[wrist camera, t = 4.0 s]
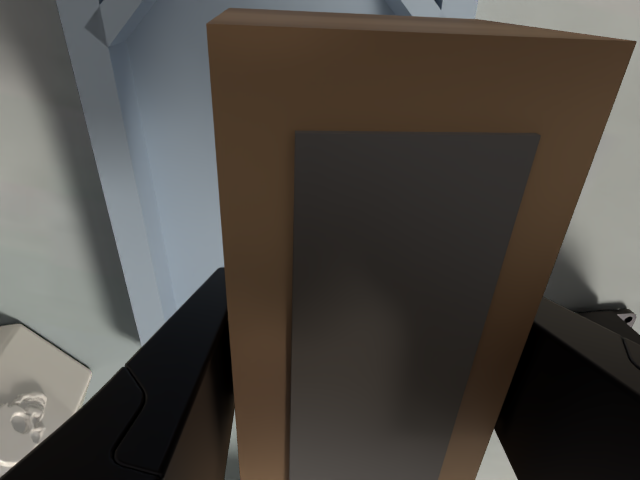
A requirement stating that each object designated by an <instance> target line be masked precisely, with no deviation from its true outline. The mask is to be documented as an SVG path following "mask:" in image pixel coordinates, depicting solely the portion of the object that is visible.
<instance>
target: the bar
mask: <svg viewBox="0 0 640 480" xmlns="http://www.w3.org/2000/svg"><path fill="white" fill-rule="evenodd" d="M206 29H207V43H208V56H209V69H210V83H211V96H212V109H213V123H214V136H215V149H216V163H217V176H218V189H219V203H220V216H221V229H222V243H223V256H224V269H225V283H226V296H227V309H228V323H229V336H230V349H231V363H232V376H233V389H234V403H235V416H236V429H237V443H238V456H239V469H240V480H475V478H476V476H477V473H478V470H479V467H480V465H481V462H482V459H483V457H484V454H485V451H486V448H487V446H488V443H489V440H490V438H491V435H492V432H493V430H494V427H495V424H496V421H497V419H498V416H499V413H500V411H501V408H502V405H503V402H504V400H505V397H506V394H507V392H508V389H509V386H510V383H511V381H512V378H513V375H514V373H515V370H516V367H517V364H518V362H519V359H520V356H521V354H522V351H523V348H524V346H525V343H526V340H527V337H528V335H529V332H530V329H531V327H532V324H533V321H534V318H535V316H536V313H537V310H538V308H539V305H540V302H541V299H542V297H543V294H544V291H545V289H546V286H547V283H548V280H549V278H550V275H551V272H552V270H553V267H554V264H555V262H556V259H557V256H558V253H559V251H560V248H561V245H562V243H563V240H564V237H565V234H566V232H567V229H568V226H569V224H570V221H571V218H572V215H573V213H574V210H575V207H576V205H577V202H578V199H579V196H580V194H581V191H582V188H583V186H584V183H585V180H586V177H587V175H588V172H589V169H590V167H591V164H592V161H593V159H594V156H595V153H596V150H597V148H598V145H599V142H600V140H601V137H602V134H603V131H604V129H605V126H606V123H607V121H608V118H609V115H610V112H611V110H612V107H613V104H614V102H615V99H616V96H617V93H618V91H619V88H620V85H621V83H622V80H623V77H624V75H625V72H626V69H627V66H628V64H629V61H630V58H631V56H632V53H633V50H634V47H635V45H636V42H637V41H630V40H623V39H616V38H609V37H601V36H594V35H587V34H580V33H573V32H565V31H558V30H551V29H544V28H536V27H529V26H522V25H515V24H507V23H500V22H493V21H486V20H479V19H463V18H441V17H419V16H398V15H376V14H355V13H333V12H311V11H290V10H268V9H246V8H228V9H227V10H225V11H224V12H222V13H221V14H219V15H218V16H216V17H215V18H214V19H212V20H211V21H209V22H208V23H206Z"/></svg>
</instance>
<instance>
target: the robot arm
mask: <svg viewBox="0 0 640 480" xmlns="http://www.w3.org/2000/svg"><path fill="white" fill-rule="evenodd" d="M635 320H636V315H635V314H634V313H633V312H632V311H631V310H629V309H621V310H607V311H593V312H579V313H574V312H572V311H570V310H568V309H566V308H564V307H562V306H560V305H558V304H556V303H554V302H552V301H550V300H548V299H546V298H544V297H542V299H541V302H540V305H539V308H538V310H537V313H536V316H535V318H534V321H533V324H532V327H531V329H530V332H529V335H528V337H527V340H526V343H525V346H524V348H523V351H522V354H521V356H520V359H519V362H518V364H517V367H516V370H515V373H514V375H513V378H512V381H511V383H510V386H509V389H508V392H507V394H506V397H505V400H504V402H503V405H502V408H501V411H500V413H499V416H498V419H497V421H496V424H495V427H494V429H495V431H496V434H497V436H498V438H499V440H500V442H501V444H502V446H503V449H504V451H505V453H506V455H507V457H508V459H509V462H510V464H511V466H512V468H513V470H514V472H515V474H516V477H517V479H518V480H640V335H639V334H638V333H637V332H636V331H634V330H633V329H632V326H633V324H634V322H635ZM234 410H235V403H234V389H233V376H232V363H231V349H230V336H229V323H228V309H227V296H226V283H225V269H224V267H220V268H218V269H217V270H216V271H215V272H214V273H213V274H212V275H211V276H210V277H209V278H208V279H207V280H206V281H205V282H204V283H203V284H202V285H201V286H200V287H199V288H198V289H197V290H196V291H195V292H194V293H193V294H192V295H191V296H190V298H189V299H188V300H187V301H186V302H185V303H184V304H183V305H182V306H181V307H180V308H179V309H178V310H177V311H176V312H175V313H174V314H173V315H172V316H171V317H170V318H169V319H168V320H167V321H166V322H165V323H164V324H163V325H162V327H161V328H160V329H159V330H158V331H157V332H156V333H155V334H154V335H153V336H152V337H151V338H150V339H149V340H148V341H147V342H146V343H145V344H144V345H143V346H142V347H141V348H140V349H139V350H138V351H137V352H136V353H135V354H134V355H133V357H132V358H131V359H130V360H129V361H128V362H127V363H126V364H125V367H122V368H121V369H120V370H119V371H118V372H117V373H116V374H115V375H114V376H113V377H112V378H111V379H110V380H109V381H108V382H107V383H106V384H105V385H104V386H103V387H102V388H101V389H100V390H99V391H98V392H97V393H96V394H95V395H94V396H93V397H92V398H91V399H90V400H89V401H88V402H87V403H86V404H84V405H83V406H82V407H81V408H80V409H79V410H78V411H77V412H75V413H74V414H73V415H72V416H71V417H70V418H69V419H68V420H66V421H65V422H64V423H63V424H62V425H61V426H60V427H59V428H57V429H56V430H55V431H54V432H53V433H52V434H50V435H49V436H48V437H47V438H46V439H45V440H43V441H42V442H41V443H40V444H39V445H37V446H36V447H35V448H34V449H33V450H32V451H30V452H29V453H28V454H27V455H26V456H25V457H23V458H22V459H21V460H20V461H19V462H18V463H16V464H15V465H14V466H13V467H12V468H11V469H9V470H8V471H7V472H6V473H5V474H3V475H2V476H1V477H0V480H224V476H225V469H226V463H227V456H228V449H229V443H230V436H231V430H232V423H233V416H234Z"/></svg>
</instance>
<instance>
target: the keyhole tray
mask: <svg viewBox="0 0 640 480" xmlns="http://www.w3.org/2000/svg"><path fill="white" fill-rule="evenodd" d="M56 4H57V8H58V12H59V16H60V20H61V24H62V28H63V32H64V36H65V40H66V44H67V48H68V52H69V56H70V60H71V64H72V68H73V72H74V76H75V80H76V84H77V88H78V92H79V96H80V100H81V104H82V108H83V112H84V116H85V120H86V124H87V129H88V133H89V137H90V141H91V145H92V149H93V153H94V157H95V161H96V165H97V169H98V173H99V177H100V181H101V185H102V189H103V193H104V197H105V201H106V205H107V209H108V213H109V217H110V221H111V225H112V229H113V233H114V237H115V241H116V245H117V249H118V253H119V257H120V261H121V265H122V269H123V273H124V277H125V281H126V285H127V289H128V293H129V297H130V301H131V306H132V310H133V314H134V318H135V322H136V326H137V330H138V334H139V338H140V342H141V346H143V345H144V344H145V343H146V342H147V341H148V340H149V339H150V338H151V337H152V336H153V335H154V334H155V333H156V332H157V331H158V330H159V329H160V328H161V327H162V325H163V324H164V323H165V322H166V321H167V320H168V319H169V318H170V317H171V316H172V315H173V314H174V313H175V312H176V311H177V310H178V309H179V308H180V307H181V306H182V305H183V304H184V303H185V302H186V301H187V300H188V299H189V298H190V296H191V295H192V294H193V293H194V292H195V291H196V290H197V289H198V288H199V287H200V286H201V285H202V284H203V283H204V282H205V281H206V280H207V279H208V278H209V277H210V276H211V275H212V274H213V273H214V272H215V271H216V270H217V269H218V268H220V267H224V256H223V243H222V229H221V216H220V203H219V189H218V176H217V163H216V149H215V136H214V123H213V109H212V96H211V83H210V69H209V56H208V43H207V29H206V23H208V22H209V21H211V20H212V19H214V18H215V17H216V16H218V15H219V14H221V13H222V12H224V11H225V10H227V9H228V8H246V9H268V10H290V11H311V12H333V13H355V14H376V15H398V16H419V17H441V18H463V19H475V16H476V10H477V4H478V0H56Z"/></svg>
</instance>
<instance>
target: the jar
mask: <svg viewBox="0 0 640 480" xmlns="http://www.w3.org/2000/svg"><path fill="white" fill-rule="evenodd" d="M91 377H92V372H91V370H90V369H88V368H87V367H85V366H84V365H82V364H81V363H79V362H78V361H76V360H75V359H73V358H72V357H70V356H69V355H67V354H66V353H64V352H63V351H61V350H60V349H58V348H57V347H55V346H54V345H52V344H51V343H49V342H48V341H46V340H45V339H43V338H42V337H40V336H39V335H37V334H36V333H34V332H33V331H31V330H30V329H28V328H27V327H25V326H24V325H22V324H12V325H4V326H0V477H1V476H2V475H3V474H5V473H6V472H7V471H8V470H9V469H11V468H12V467H13V466H14V465H15V464H16V463H18V462H19V461H20V460H21V459H22V458H23V457H25V456H26V455H27V454H28V453H29V452H30V451H32V450H33V449H34V448H35V447H36V446H37V445H39V444H40V443H41V442H42V441H43V440H45V439H46V438H47V437H48V436H49V435H50V434H52V433H53V432H54V431H55V430H56V429H57V428H59V427H60V426H61V425H62V424H63V423H64V422H65V421H66V420H68V419H69V418H70V417H71V416H72V415H73V414H74V413H75V412H77V411H78V410H79V409H80V408H81V407H82V405H83V402H84V399H85V396H86V392H87V389H88V386H89V383H90V380H91Z"/></svg>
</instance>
